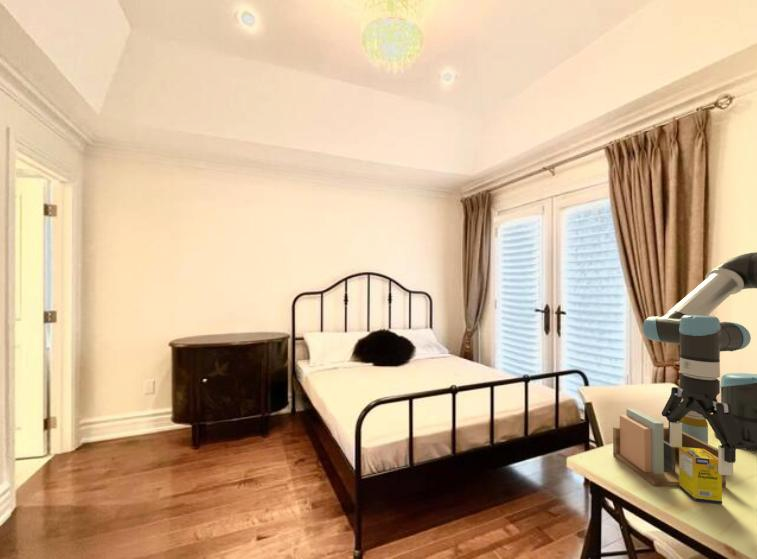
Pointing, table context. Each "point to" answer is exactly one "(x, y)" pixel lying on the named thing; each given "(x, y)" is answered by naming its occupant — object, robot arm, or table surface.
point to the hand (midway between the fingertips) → (698, 459)
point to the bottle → (695, 426)
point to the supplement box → (700, 475)
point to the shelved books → (642, 441)
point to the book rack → (665, 458)
